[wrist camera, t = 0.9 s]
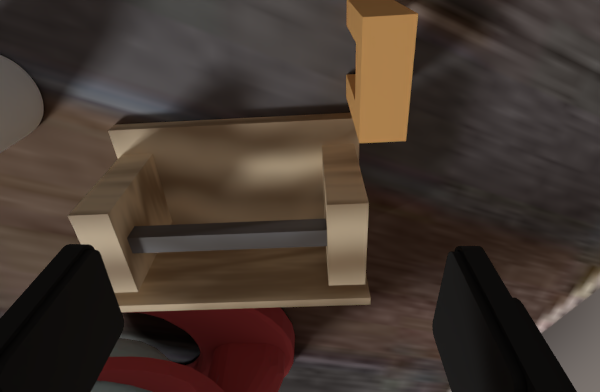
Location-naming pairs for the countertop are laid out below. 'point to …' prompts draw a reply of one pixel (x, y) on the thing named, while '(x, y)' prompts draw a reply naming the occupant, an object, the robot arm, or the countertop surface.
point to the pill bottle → (17, 103)
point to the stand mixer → (208, 354)
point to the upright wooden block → (381, 68)
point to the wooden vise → (231, 214)
